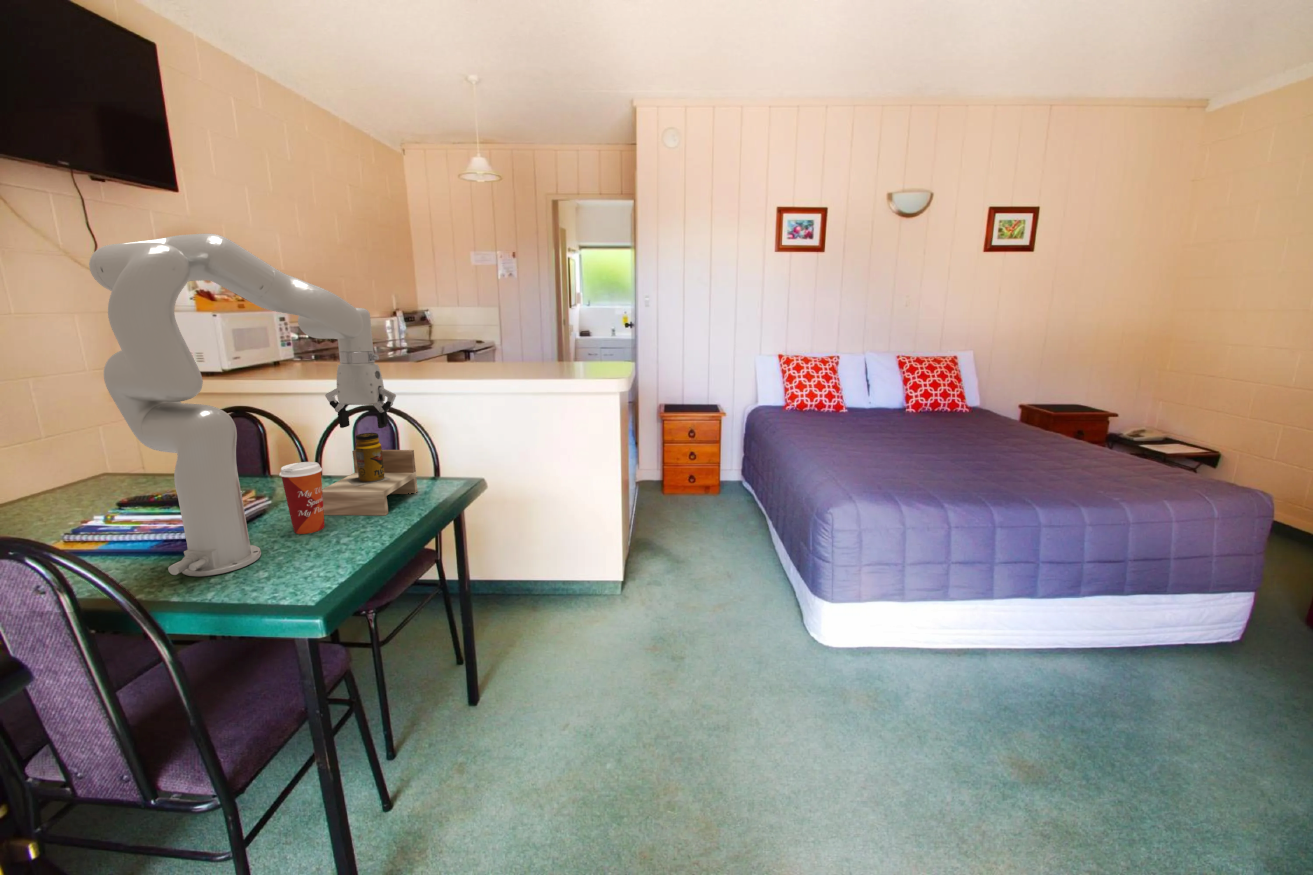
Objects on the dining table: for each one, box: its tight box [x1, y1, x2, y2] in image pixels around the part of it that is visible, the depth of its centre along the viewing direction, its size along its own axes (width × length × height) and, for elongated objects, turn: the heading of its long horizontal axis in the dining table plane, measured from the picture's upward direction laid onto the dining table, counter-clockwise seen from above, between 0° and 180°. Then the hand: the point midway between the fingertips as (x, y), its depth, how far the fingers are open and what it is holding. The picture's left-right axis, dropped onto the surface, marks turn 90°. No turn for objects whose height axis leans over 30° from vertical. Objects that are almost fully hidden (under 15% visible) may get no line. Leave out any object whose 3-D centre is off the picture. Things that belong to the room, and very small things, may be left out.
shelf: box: [322, 449, 419, 516], centre depth 145 cm, size 18×16×12 cm
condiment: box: [346, 432, 390, 486], centre depth 144 cm, size 7×8×12 cm
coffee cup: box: [278, 461, 325, 535], centre depth 127 cm, size 8×8×15 cm
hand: (363, 427), depth 142 cm, fingers open, 9 cm apart
